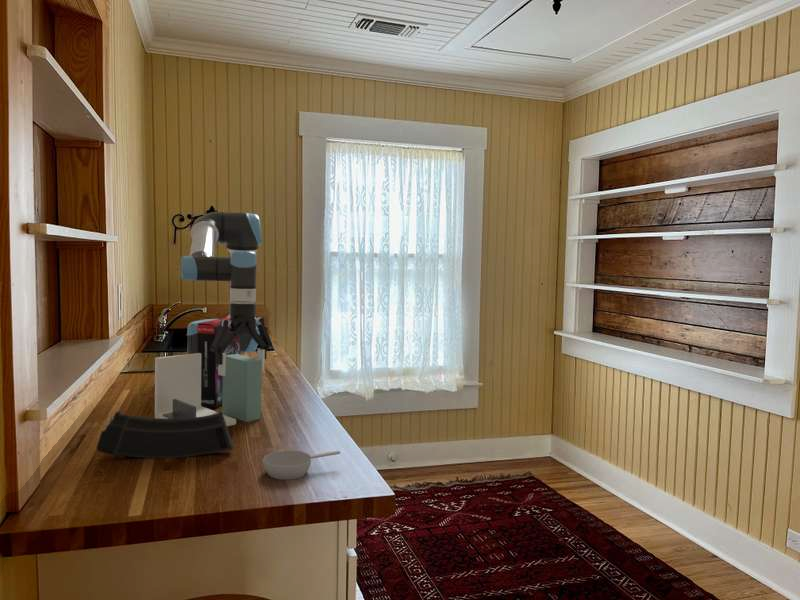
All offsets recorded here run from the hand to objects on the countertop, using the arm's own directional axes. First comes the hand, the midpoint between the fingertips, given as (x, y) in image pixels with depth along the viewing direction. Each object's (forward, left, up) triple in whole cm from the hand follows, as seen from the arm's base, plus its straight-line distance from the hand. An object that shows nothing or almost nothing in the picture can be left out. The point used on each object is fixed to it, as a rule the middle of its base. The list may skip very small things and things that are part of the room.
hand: (241, 372), depth 177 cm
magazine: (+33, +18, -14) cm, 40 cm away
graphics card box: (-4, -19, -14) cm, 24 cm away
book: (0, 0, -14) cm, 14 cm away
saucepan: (+15, +48, -14) cm, 52 cm away
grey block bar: (+18, -4, -12) cm, 22 cm away
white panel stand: (+13, -4, -13) cm, 19 cm away
